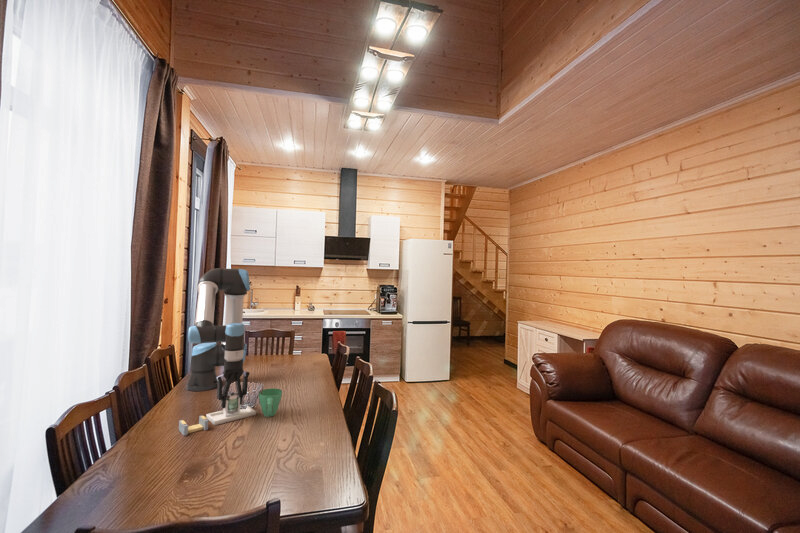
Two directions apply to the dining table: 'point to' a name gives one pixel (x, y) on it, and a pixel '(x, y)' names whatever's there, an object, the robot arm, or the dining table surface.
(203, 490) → the dining table surface
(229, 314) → the robot arm
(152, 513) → the dining table surface
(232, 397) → the cell
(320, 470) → the dining table surface
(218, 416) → the tray
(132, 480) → the dining table surface
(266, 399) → the mug
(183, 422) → the cradle
